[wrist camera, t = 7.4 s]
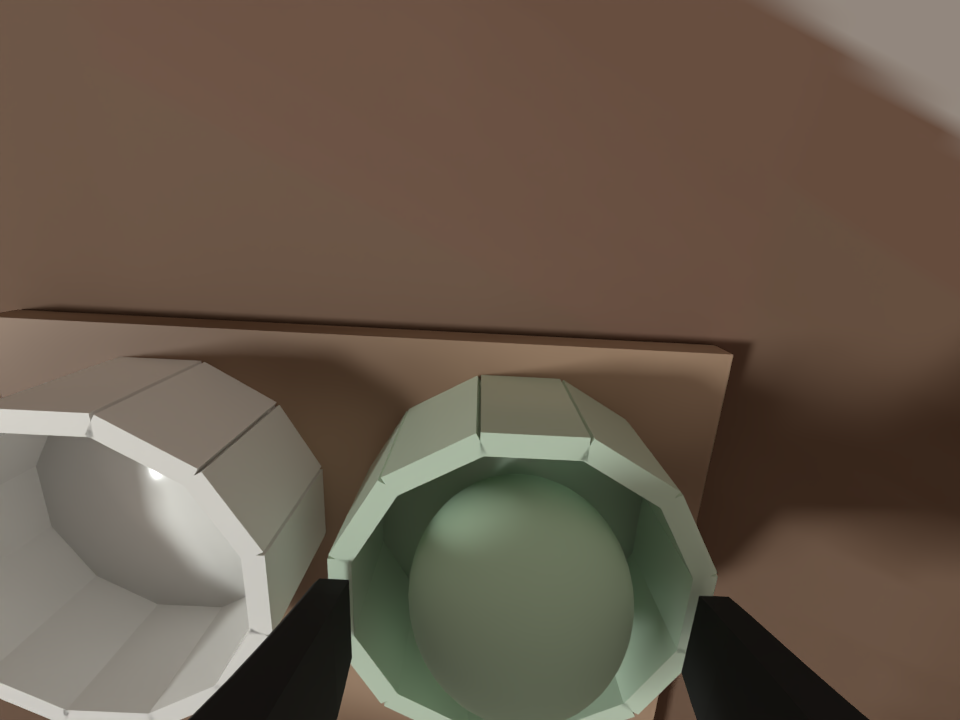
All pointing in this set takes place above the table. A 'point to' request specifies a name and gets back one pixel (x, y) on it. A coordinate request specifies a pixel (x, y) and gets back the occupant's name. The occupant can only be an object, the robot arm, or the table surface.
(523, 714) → the ball
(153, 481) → the cup grey
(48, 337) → the board
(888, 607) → the table surface
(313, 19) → the table surface
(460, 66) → the table surface
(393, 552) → the cup green
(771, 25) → the table surface
